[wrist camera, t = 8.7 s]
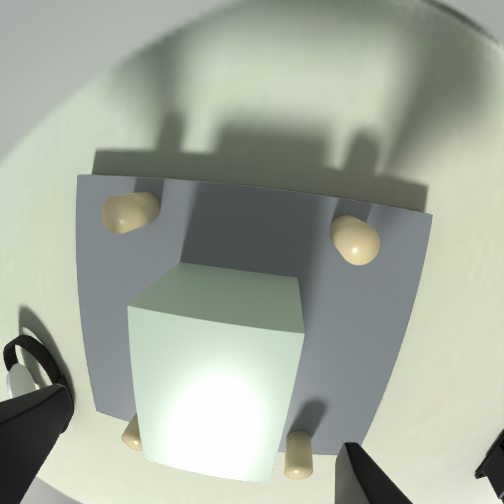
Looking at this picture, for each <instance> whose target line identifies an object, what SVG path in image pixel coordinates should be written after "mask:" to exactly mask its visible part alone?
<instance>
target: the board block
mask: <svg viewBox="0 0 504 504" xmlns="http://www.w3.org/2000/svg"><path fill="white" fill-rule="evenodd" d="M127 307H128V328H129V343H130V356H131V367H132V377H133V387H134V395H135V403H136V410H137V417H138V424H139V431H140V437H141V443H142V448H143V454H144V459H146V460H149V461H153V462H156V463H160V464H164V465H167V466H171V467H175V468H179V469H184V470H188V471H192V472H197V473H202V474H207V475H212V476H218V477H224V478H230V479H236V480H243V481H251V482H259V483H269V481H270V477H271V474H272V470H273V466H274V463H275V459H276V455H277V452H278V448H279V444H280V440H281V436H282V433H283V429H284V425H285V421H286V417H287V412H288V408H289V404H290V400H291V396H292V391H293V387H294V383H295V378H296V374H297V369H298V364H299V360H300V355H301V350H302V345H303V340H304V335H305V331H304V323H303V315H302V307H301V299H300V291H299V283H298V278H296V277H289V276H281V275H273V274H265V273H257V272H250V271H242V270H235V269H227V268H220V267H213V266H206V265H198V264H191V263H184V262H179V263H178V264H177V265H175V266H174V267H173V268H172V269H170V270H169V271H168V272H167V273H166V274H164V275H163V276H162V277H161V278H160V279H158V280H157V281H156V282H155V283H154V284H152V285H151V286H150V287H149V288H148V289H146V290H145V291H144V292H143V293H142V294H141V295H139V296H138V297H137V298H136V299H135V300H133V301H132V302H131V303H130V304H129V305H128V306H127Z"/></svg>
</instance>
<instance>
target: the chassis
mask: <svg viewBox="0 0 504 504" xmlns="http://www.w3.org/2000/svg"><path fill="white" fill-rule="evenodd" d="M432 217H433V215H431V214H428V213H424V212H420V211H415V210H410V209H404V208H399V207H394V206H388V205H383V204H377V203H371V202H365V201H359V200H353V199H347V198H340V197H334V196H327V195H320V194H313V193H306V192H299V191H291V190H283V189H275V188H267V187H258V186H249V185H240V184H230V183H220V182H209V181H198V180H186V179H172V178H158V177H141V176H121V175H95V174H86V175H78V176H77V196H76V262H77V281H78V295H79V306H80V316H81V325H82V333H83V340H84V347H85V354H86V360H87V366H88V372H89V377H90V383H91V388H92V392H93V397H94V402H95V406H96V411H98V412H101V413H103V414H106V415H109V416H112V417H115V418H118V419H121V420H124V421H128V422H130V423H129V425H128V426H127V428H126V430H125V431H124V433H123V434H122V440H123V442H124V443H125V444H126V445H127V446H128V447H130V448H132V449H134V450H137V451H143V448H142V443H141V437H140V431H139V424H138V417H137V410H136V403H135V395H134V387H133V377H132V367H131V356H130V343H129V328H128V307H127V306H128V305H129V304H130V303H131V302H132V301H133V300H135V299H136V298H137V297H138V296H139V295H141V294H142V293H143V292H144V291H145V290H146V289H148V288H149V287H150V286H151V285H152V284H154V283H155V282H156V281H157V280H158V279H160V278H161V277H162V276H163V275H164V274H166V273H167V272H168V271H169V270H170V269H172V268H173V267H174V266H175V265H177V264H178V263H179V262H184V263H191V264H198V265H206V266H213V267H220V268H227V269H235V270H242V271H250V272H257V273H265V274H273V275H281V276H289V277H296V278H298V283H299V291H300V299H301V307H302V315H303V323H304V331H305V335H304V340H303V345H302V350H301V355H300V360H299V364H298V369H297V374H296V378H295V383H294V387H293V391H292V396H291V400H290V404H289V408H288V412H287V417H286V421H285V425H284V429H283V433H282V436H281V440H280V444H279V448H278V452H285V471H284V473H285V475H286V476H287V477H288V478H290V479H296V480H299V479H305V478H307V477H309V476H310V475H311V474H312V473H313V464H312V454H318V455H338V454H339V452H340V449H341V447H342V445H343V444H344V443H345V442H357V443H358V444H359V445H360V446H361V444H362V442H363V440H364V438H365V436H366V434H367V432H368V430H369V427H370V425H371V423H372V421H373V418H374V416H375V414H376V411H377V409H378V407H379V404H380V402H381V399H382V397H383V394H384V392H385V389H386V387H387V384H388V382H389V379H390V376H391V373H392V371H393V368H394V365H395V362H396V359H397V357H398V354H399V351H400V348H401V345H402V342H403V338H404V335H405V332H406V329H407V325H408V322H409V319H410V315H411V312H412V308H413V305H414V301H415V297H416V293H417V289H418V285H419V281H420V277H421V273H422V268H423V264H424V259H425V255H426V250H427V245H428V239H429V234H430V228H431V223H432Z"/></svg>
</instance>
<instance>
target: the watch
mask: <svg viewBox="0 0 504 504" xmlns="http://www.w3.org/2000/svg"><path fill="white" fill-rule="evenodd" d="M15 345H19V346H21V347H23V348H24V349H26V350H27V351H28V352H29V353H30V354H32V355H33V357H34V358H35V359H36V360H37V361H38V362H39V363H40V364H41V366H42V367H43V368H44V370H45V371H46V373H47V374H48V376H49V378H50V380H51V382H52V384H60V385H62V386H65V387H66V388H67V389H68V392H69V396H70V400H71V403H72V409H71V412H70V414H69V416H68V418H67V420H66V422H65V424H64V426H63V429H62V431H61V433H63V432H65V430H66V429H67V427H68V425H69V422H70V420H71V418H72V416H73V413H74V406H73V401H72V396H71V393H70V389H69V387H68V385H67V382H66V380H65V377H64V375H63V376H62V375H61V373H60V370H59V368H58V366H57V364H56V363H55V361H54V359H53V357H52V356H51V354H50V353H49V351H48V350H47V349H46V348H45V347H44V346H43V345H42V344H41V343H40V342H39V341H37V340H36V339H34V338H33V337H31V336H28V335H20V336H18V337H17V338H15V339H14V340H12V341H11V342H9V343H8V344H7V345H6V346H5V348H4V351H3V356H4V362H5V365H6V368H7V372H8V374H7V390H8V393H9V396H10V398H11V399H12V398H15V397H18V396H21V395H24V394H27V393H30V392H33V391H36V388H35V384H34V380H33V377H32V375H31V373H30V371H29V370H28V369H27V368H26V367H25V366H23V365H21V364H19V361H18V359H17V356H16V352H15ZM61 433H60V434H61Z"/></svg>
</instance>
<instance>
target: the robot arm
mask: <svg viewBox="0 0 504 504" xmlns="http://www.w3.org/2000/svg"><path fill="white" fill-rule="evenodd" d="M71 409H72V403H71V400H70V396H69V392H68V389H67V388H66V387H65V386H62V385H60V384H53V385H50V386H47V387H44V388H41V389H39V390H36V391H33V392H30V393H27V394H24V395H21V396H18V397H15V398H12V399H9V400H6V401H3V402H0V504H20V502H21V500H22V499H23V497H24V495H25V493H26V492H27V490H28V488H29V486H30V485H31V483H32V481H33V479H34V478H35V476H36V475H37V473H38V471H39V469H40V468H41V466H42V464H43V463H44V461H45V460H46V458H47V456H48V455H49V453H50V451H51V450H52V448H53V446H54V445H55V443H56V441H57V439H58V437H59V435H60V433H61V431H62V429H63V426H64V424H65V422H66V420H67V418H68V416H69V414H70V412H71ZM486 476H487V477H488V479H489V481H490V483H491V485H492V487H493V489H494V491H495V493H496V495H497V497H498V498H499V499H501V500H502V502H503V504H504V434H503V436H502V437H501V439H500V440H499V442H498V443H497V445H496V446H495V447H494V449H493V450H492V452H491V453H490V455H489V456H488V457H487V459H486V460H485V461H484V463H483V464H482V465H481V467H480V468H479V469H478V471H477V472H476V473H475V478H476V479H479V478H482V477H486ZM335 504H413V503H412V502H411V501H410V500H409V499H408V498H407V497H406V496H405V495H404V494H403V493H402V491H401V490H400V489H399V488H398V487H397V486H396V485H395V484H394V483H393V482H392V481H391V479H390V478H389V477H388V476H387V475H386V474H385V473H384V472H383V471H382V469H381V468H380V467H379V466H378V465H377V464H376V463H375V462H374V461H373V459H372V458H371V457H370V456H369V455H368V454H367V453H366V452H365V450H364V449H363V448H362V447H361V446H360V445H359V444H358V443H357V442H345V443H344V444H343V445H342V447H341V449H340V452H339V454H338V456H337V458H336V463H335Z"/></svg>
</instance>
